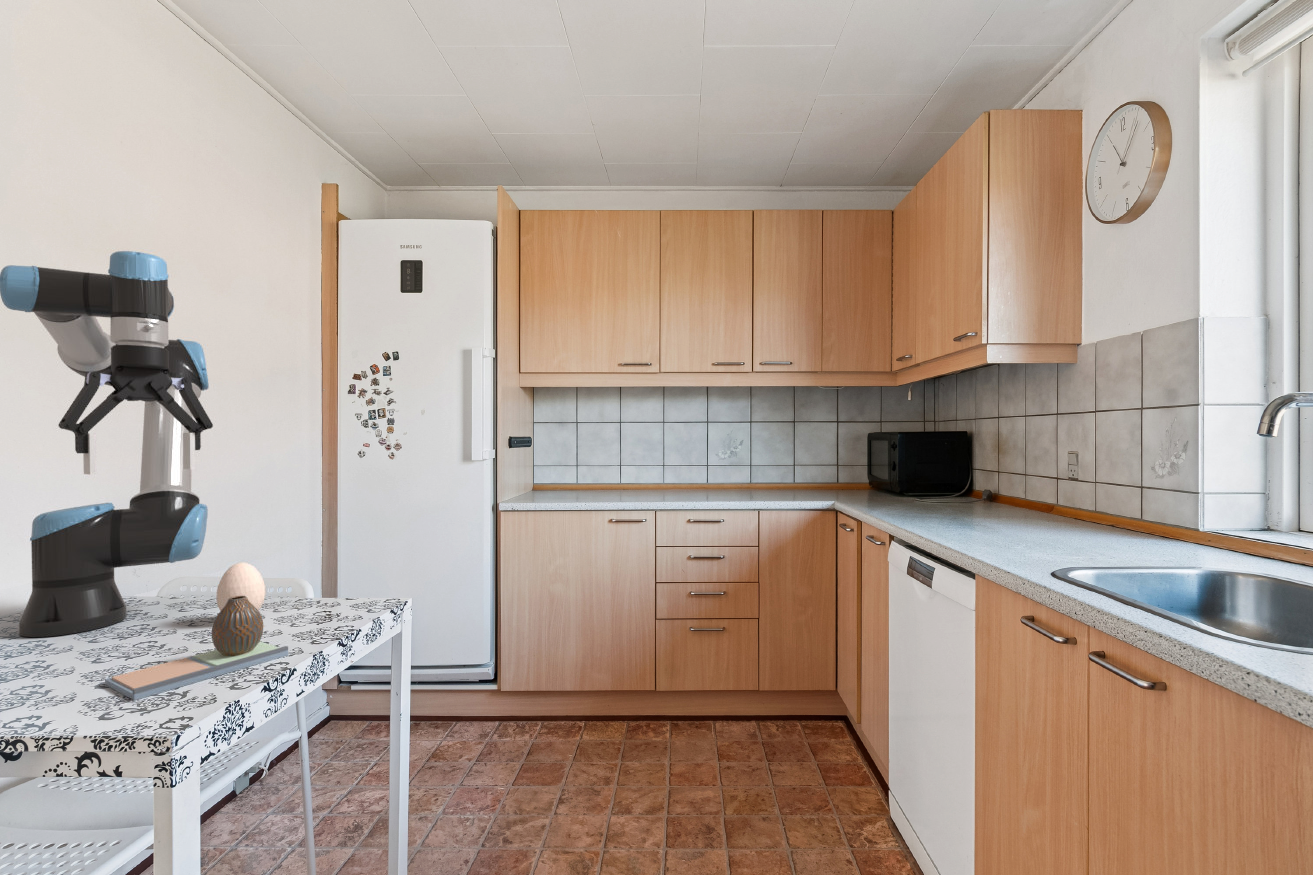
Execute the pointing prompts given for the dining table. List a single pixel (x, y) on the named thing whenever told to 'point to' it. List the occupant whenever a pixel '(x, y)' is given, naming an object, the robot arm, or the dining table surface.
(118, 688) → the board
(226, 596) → the egg
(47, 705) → the dining table surface
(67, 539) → the robot arm
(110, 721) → the dining table surface
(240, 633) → the vase
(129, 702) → the dining table surface
